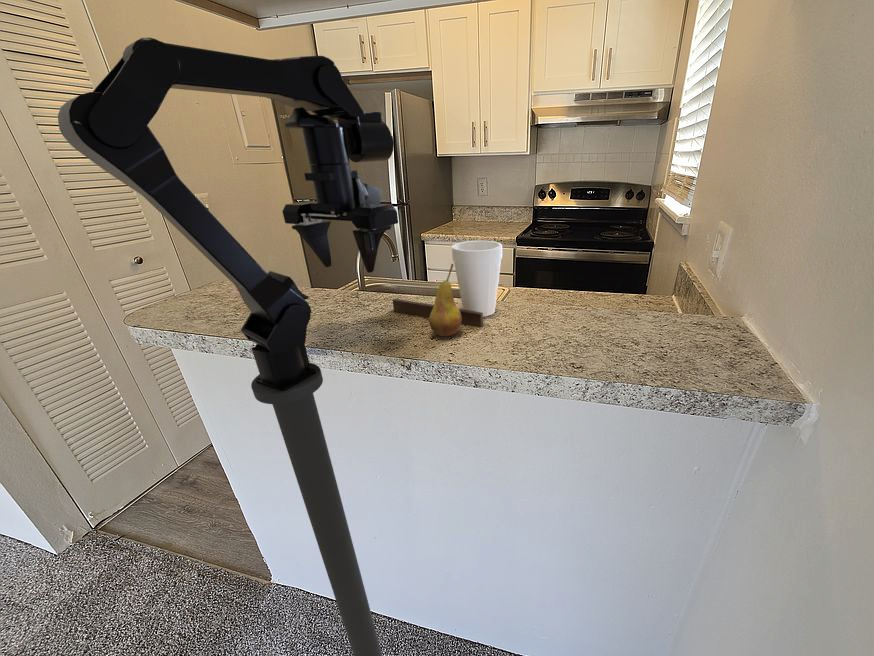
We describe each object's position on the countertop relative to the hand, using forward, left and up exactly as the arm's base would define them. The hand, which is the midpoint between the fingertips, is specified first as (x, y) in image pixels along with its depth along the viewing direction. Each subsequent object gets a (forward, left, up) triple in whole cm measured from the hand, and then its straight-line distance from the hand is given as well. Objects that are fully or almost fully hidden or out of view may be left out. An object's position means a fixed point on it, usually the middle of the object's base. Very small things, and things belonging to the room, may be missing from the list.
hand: (348, 269), depth 66 cm
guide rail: (+12, -8, -12) cm, 19 cm away
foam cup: (+19, -14, -12) cm, 27 cm away
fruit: (+7, -14, -12) cm, 20 cm away
